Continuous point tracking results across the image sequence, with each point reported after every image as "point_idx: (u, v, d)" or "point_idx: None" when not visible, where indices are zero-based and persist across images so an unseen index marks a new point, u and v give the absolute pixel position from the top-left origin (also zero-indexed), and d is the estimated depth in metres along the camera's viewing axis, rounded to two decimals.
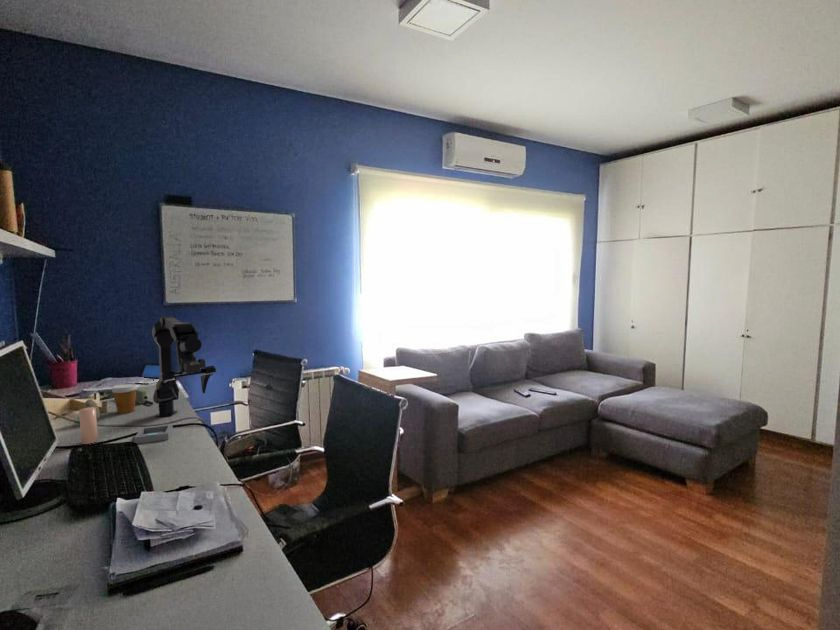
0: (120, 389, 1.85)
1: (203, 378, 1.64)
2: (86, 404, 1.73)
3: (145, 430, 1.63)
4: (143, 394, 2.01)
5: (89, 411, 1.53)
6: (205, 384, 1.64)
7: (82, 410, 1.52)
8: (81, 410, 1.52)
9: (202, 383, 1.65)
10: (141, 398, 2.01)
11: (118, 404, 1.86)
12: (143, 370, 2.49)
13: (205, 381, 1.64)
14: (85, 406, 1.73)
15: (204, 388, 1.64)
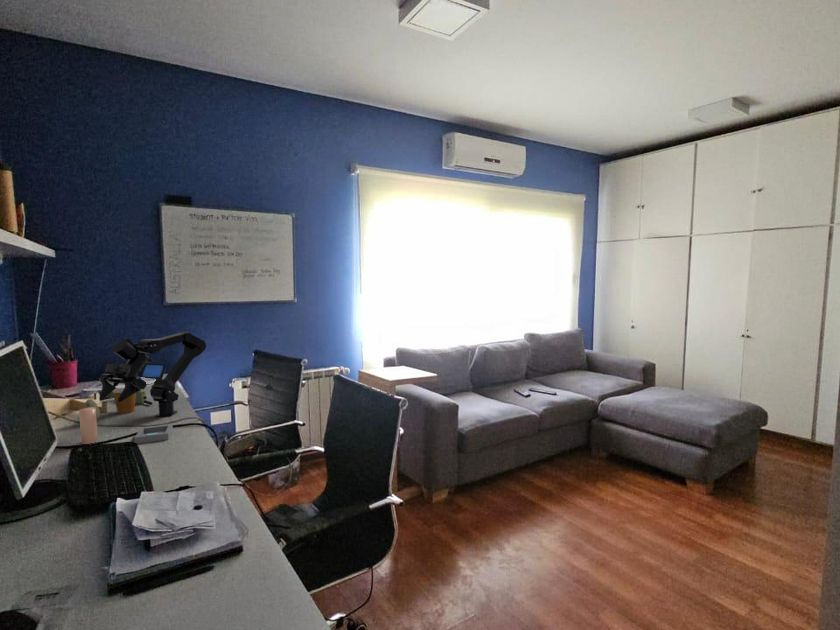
0: (120, 389, 1.85)
1: None
2: (86, 404, 1.73)
3: (145, 430, 1.63)
4: (142, 394, 2.00)
5: (89, 411, 1.53)
6: (122, 392, 1.61)
7: (82, 410, 1.52)
8: (81, 410, 1.52)
9: None
10: (140, 398, 2.01)
11: (118, 404, 1.86)
12: (144, 370, 2.49)
13: (124, 389, 1.62)
14: (85, 406, 1.73)
15: (120, 396, 1.61)
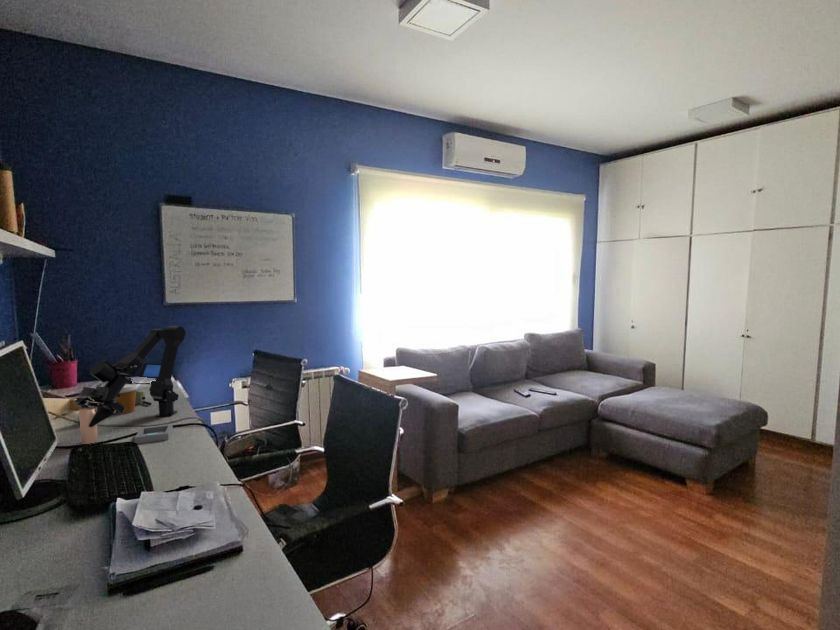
0: None
1: None
2: None
3: (145, 430, 1.63)
4: (141, 395, 2.00)
5: (89, 411, 1.52)
6: (94, 417, 1.53)
7: (82, 410, 1.52)
8: (81, 410, 1.52)
9: None
10: (139, 399, 2.00)
11: None
12: (144, 370, 2.50)
13: (97, 413, 1.54)
14: None
15: (91, 421, 1.53)
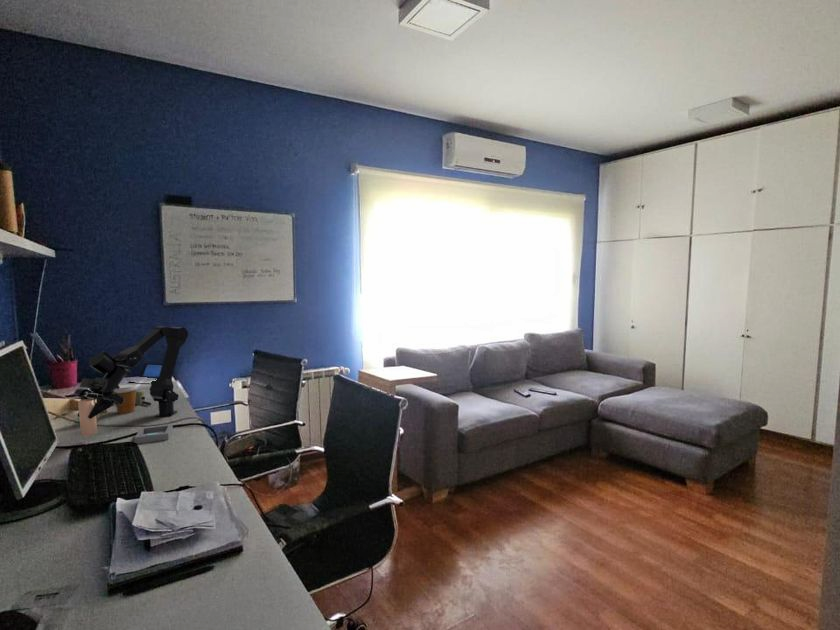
0: (120, 389, 1.85)
1: None
2: None
3: (145, 430, 1.63)
4: (140, 395, 2.00)
5: (88, 402, 1.52)
6: (94, 408, 1.53)
7: (81, 401, 1.52)
8: (80, 401, 1.52)
9: None
10: (138, 399, 2.00)
11: None
12: (144, 370, 2.50)
13: (96, 405, 1.54)
14: None
15: (91, 412, 1.53)
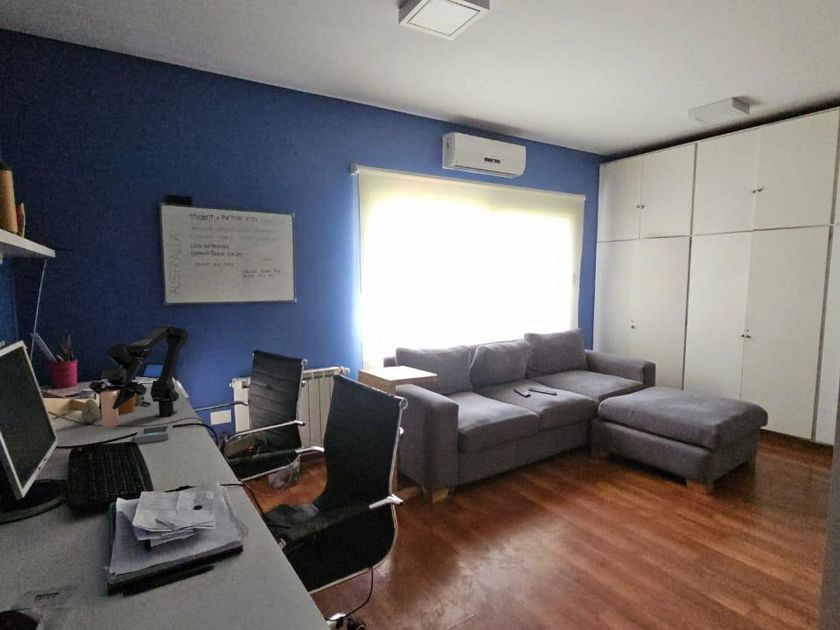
0: None
1: None
2: (86, 404, 1.73)
3: (145, 430, 1.63)
4: (140, 395, 1.99)
5: (112, 393, 1.53)
6: (118, 399, 1.54)
7: (104, 393, 1.52)
8: (103, 393, 1.52)
9: None
10: (138, 399, 2.00)
11: None
12: (145, 370, 2.50)
13: (119, 395, 1.55)
14: (85, 406, 1.73)
15: (115, 403, 1.53)
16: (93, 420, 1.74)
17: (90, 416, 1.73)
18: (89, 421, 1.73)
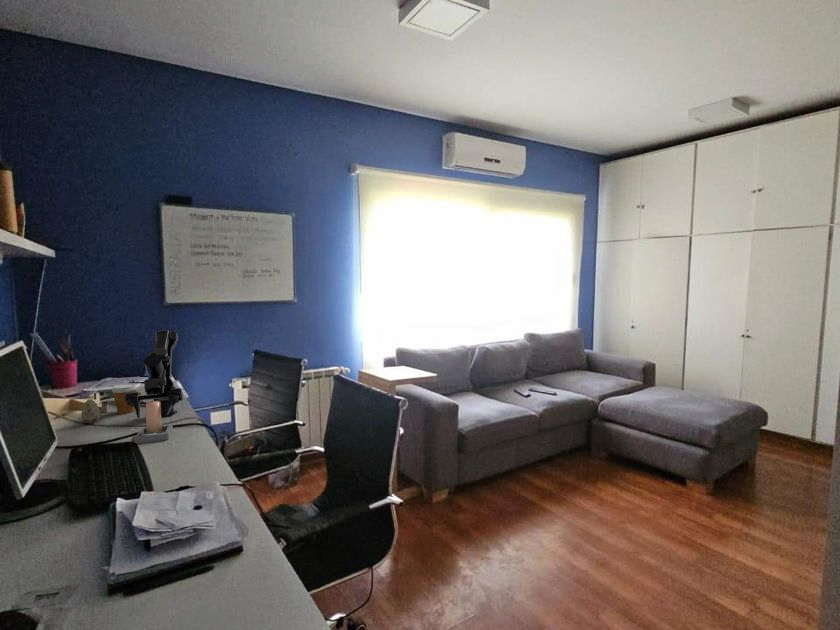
0: (120, 389, 1.85)
1: None
2: (86, 404, 1.73)
3: (145, 430, 1.63)
4: None
5: (159, 403, 1.60)
6: (168, 405, 1.61)
7: (151, 403, 1.58)
8: (150, 404, 1.58)
9: None
10: None
11: (118, 404, 1.86)
12: (145, 370, 2.51)
13: (169, 402, 1.62)
14: (85, 406, 1.73)
15: (167, 409, 1.61)
16: (93, 420, 1.74)
17: (90, 416, 1.73)
18: (89, 421, 1.73)
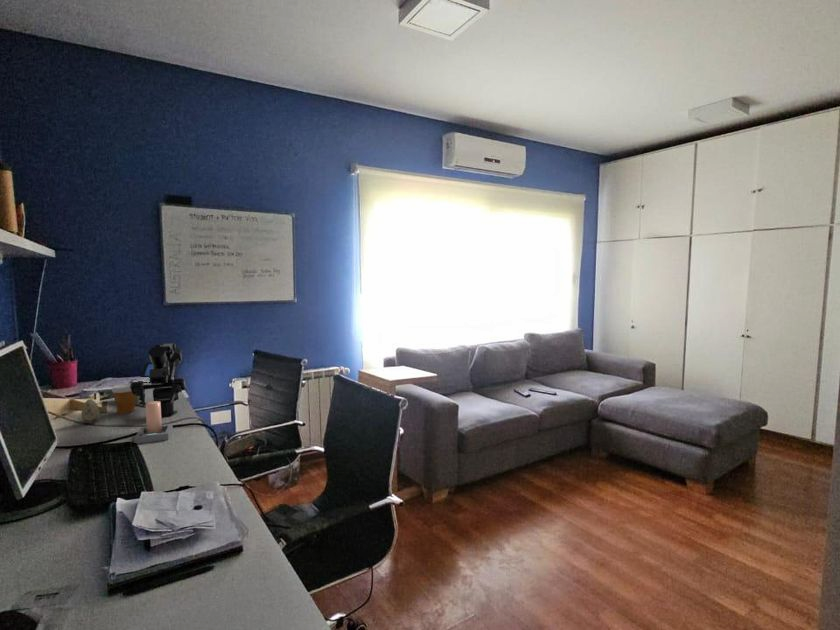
0: (120, 389, 1.85)
1: None
2: (86, 404, 1.73)
3: (145, 430, 1.63)
4: None
5: (159, 404, 1.59)
6: (172, 394, 1.70)
7: (151, 404, 1.58)
8: (150, 404, 1.57)
9: None
10: None
11: (118, 404, 1.86)
12: (146, 369, 2.51)
13: (173, 391, 1.71)
14: (85, 406, 1.73)
15: (170, 397, 1.69)
16: (93, 420, 1.74)
17: (90, 416, 1.73)
18: (89, 421, 1.73)
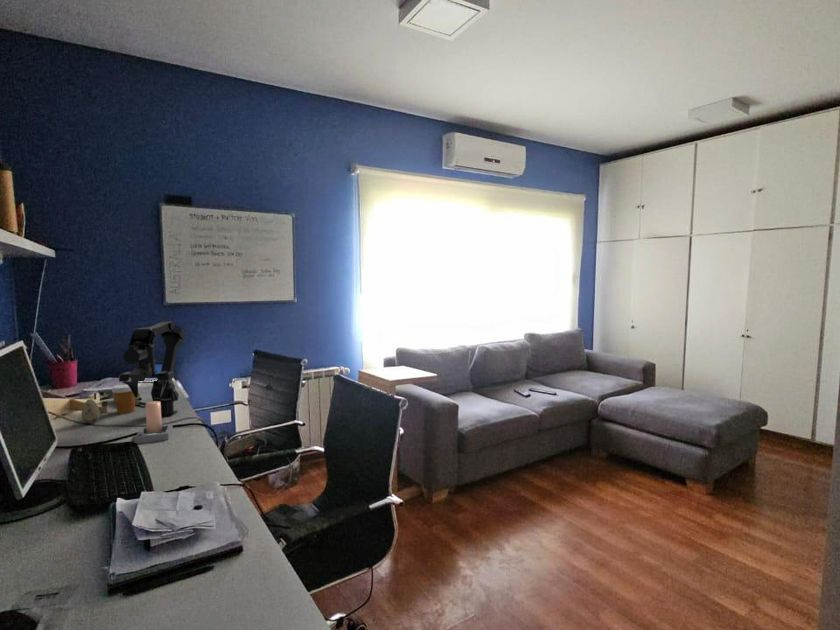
0: (120, 389, 1.85)
1: None
2: (86, 404, 1.73)
3: (145, 430, 1.63)
4: None
5: (159, 404, 1.59)
6: (160, 389, 1.70)
7: (151, 404, 1.58)
8: (150, 404, 1.57)
9: None
10: (135, 400, 1.99)
11: (118, 404, 1.86)
12: None
13: (160, 386, 1.70)
14: (85, 406, 1.73)
15: (159, 392, 1.71)
16: (93, 420, 1.74)
17: (90, 416, 1.73)
18: (89, 421, 1.73)
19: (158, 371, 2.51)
